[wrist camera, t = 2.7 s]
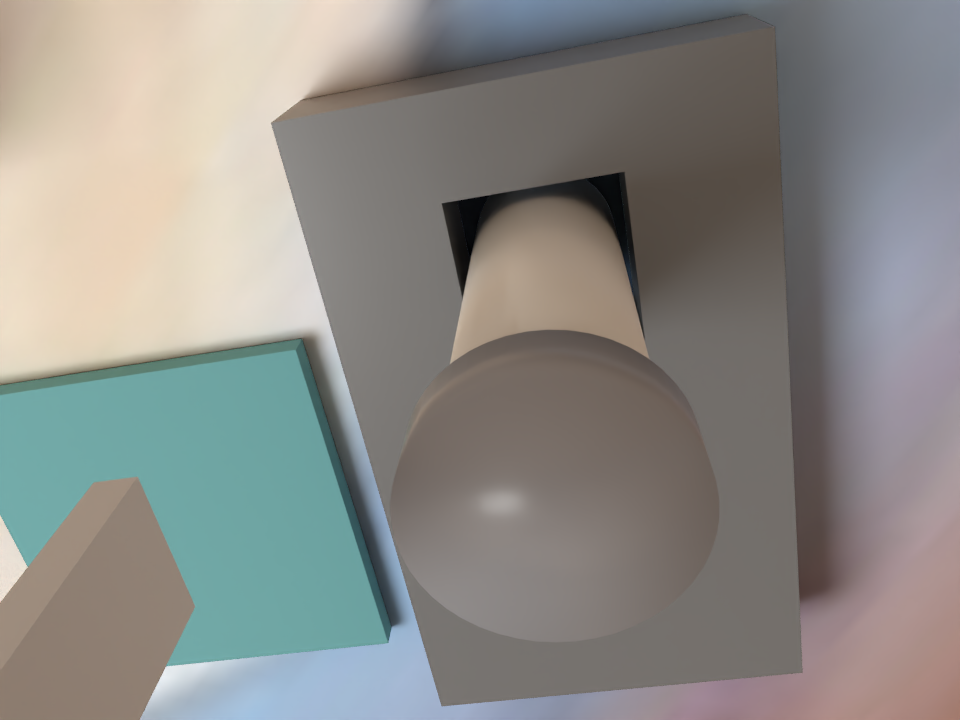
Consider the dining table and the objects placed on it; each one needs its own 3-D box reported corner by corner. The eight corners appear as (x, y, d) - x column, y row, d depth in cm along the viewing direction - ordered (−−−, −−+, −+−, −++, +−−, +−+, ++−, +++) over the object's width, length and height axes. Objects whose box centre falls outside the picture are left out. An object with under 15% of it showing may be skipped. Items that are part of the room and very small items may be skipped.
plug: (641, 301, 26) (730, 625, 14) (477, 326, 27) (428, 656, 15) (621, 135, 24) (706, 350, 12) (443, 167, 25) (354, 400, 13)
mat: (391, 627, 33) (388, 643, 32) (94, 659, 34) (84, 674, 33) (302, 338, 27) (295, 349, 27) (-44, 392, 29) (-58, 404, 28)
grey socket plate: (779, 607, 31) (802, 672, 28) (449, 641, 33) (441, 706, 30) (746, 13, 22) (775, 26, 20) (300, 100, 24) (271, 122, 21)
